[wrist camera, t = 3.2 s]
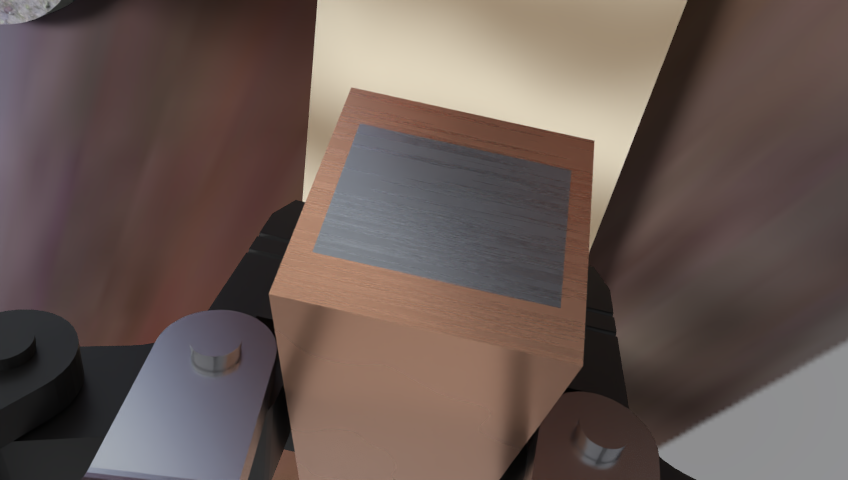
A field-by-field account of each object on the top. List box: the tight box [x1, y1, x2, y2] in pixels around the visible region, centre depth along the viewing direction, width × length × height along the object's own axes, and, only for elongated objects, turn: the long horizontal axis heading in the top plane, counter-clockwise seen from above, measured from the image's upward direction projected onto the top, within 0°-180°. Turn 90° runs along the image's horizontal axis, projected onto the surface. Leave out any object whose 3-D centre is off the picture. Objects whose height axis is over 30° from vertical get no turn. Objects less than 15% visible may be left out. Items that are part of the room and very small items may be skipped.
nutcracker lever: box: [269, 87, 594, 480], centre depth 13 cm, size 17×3×4 cm, turn 170°
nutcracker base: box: [303, 0, 687, 252], centre depth 17 cm, size 20×10×12 cm, turn 170°
